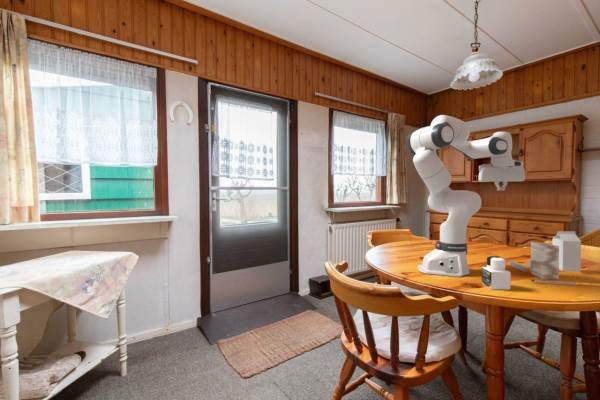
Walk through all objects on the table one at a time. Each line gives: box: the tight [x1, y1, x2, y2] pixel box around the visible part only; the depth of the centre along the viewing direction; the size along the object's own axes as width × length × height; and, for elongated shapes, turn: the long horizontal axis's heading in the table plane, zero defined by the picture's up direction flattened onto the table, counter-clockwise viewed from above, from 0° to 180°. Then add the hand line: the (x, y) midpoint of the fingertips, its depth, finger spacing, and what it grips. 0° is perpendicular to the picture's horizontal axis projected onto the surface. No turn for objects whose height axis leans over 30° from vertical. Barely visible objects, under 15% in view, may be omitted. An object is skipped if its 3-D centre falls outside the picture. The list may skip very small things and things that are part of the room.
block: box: [530, 242, 560, 280], centre depth 119 cm, size 6×8×14 cm
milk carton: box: [551, 230, 582, 273], centre depth 130 cm, size 7×7×19 cm
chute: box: [508, 260, 578, 286], centre depth 125 cm, size 14×27×3 cm, turn 167°
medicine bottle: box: [481, 255, 512, 291], centre depth 110 cm, size 7×7×12 cm
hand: (500, 190), depth 142 cm, fingers closed
